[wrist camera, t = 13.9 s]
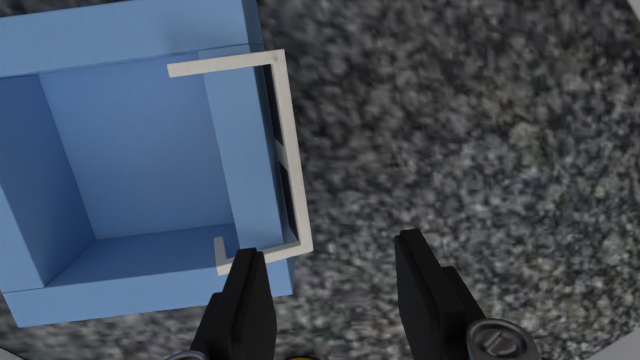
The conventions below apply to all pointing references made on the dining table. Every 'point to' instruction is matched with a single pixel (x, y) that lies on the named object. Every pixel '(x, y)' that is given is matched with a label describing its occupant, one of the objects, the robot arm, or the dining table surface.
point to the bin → (132, 159)
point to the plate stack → (8, 355)
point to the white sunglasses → (284, 146)
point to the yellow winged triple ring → (301, 359)
